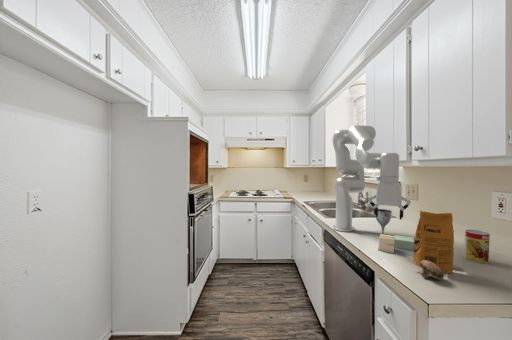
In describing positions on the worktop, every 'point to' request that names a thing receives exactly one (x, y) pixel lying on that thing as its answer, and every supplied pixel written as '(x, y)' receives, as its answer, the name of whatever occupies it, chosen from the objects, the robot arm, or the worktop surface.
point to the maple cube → (386, 243)
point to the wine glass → (384, 218)
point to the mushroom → (430, 270)
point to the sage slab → (404, 242)
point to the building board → (401, 252)
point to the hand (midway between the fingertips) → (388, 217)
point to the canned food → (477, 246)
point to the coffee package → (435, 240)
